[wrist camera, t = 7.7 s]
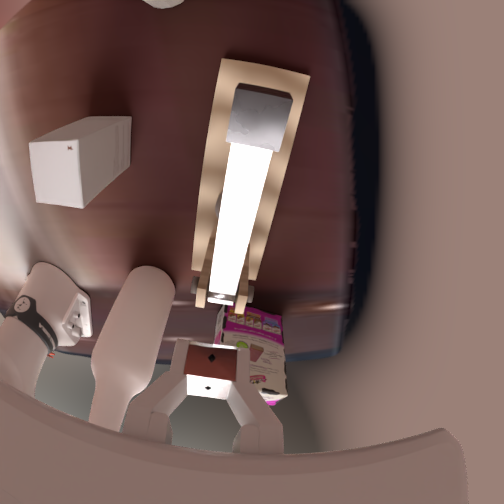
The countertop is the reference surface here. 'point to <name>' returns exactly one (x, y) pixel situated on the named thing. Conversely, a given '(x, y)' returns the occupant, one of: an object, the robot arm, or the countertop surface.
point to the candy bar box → (257, 347)
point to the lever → (245, 179)
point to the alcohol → (129, 344)
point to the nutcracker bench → (217, 169)
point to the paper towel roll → (163, 3)
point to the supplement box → (80, 159)
